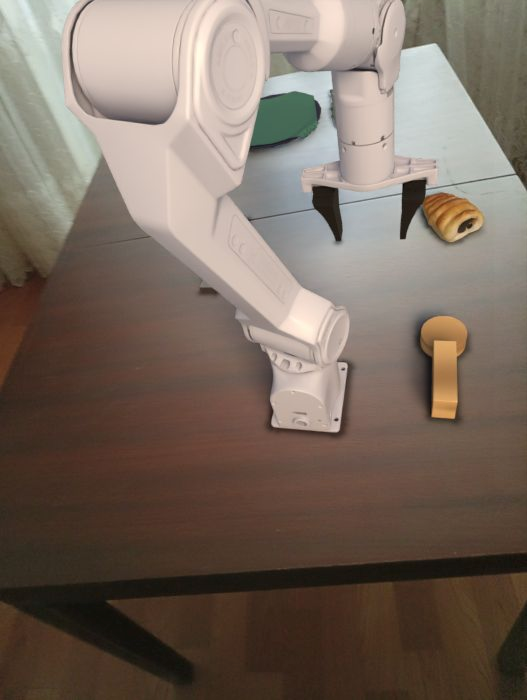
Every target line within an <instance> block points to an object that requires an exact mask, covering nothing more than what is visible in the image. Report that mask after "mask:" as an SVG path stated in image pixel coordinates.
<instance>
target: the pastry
mask: <svg viewBox="0 0 527 700" xmlns="http://www.w3.org/2000/svg"><path fill="white" fill-rule="evenodd" d="M421 208H422V210H423V214H424V217H425V218H426V220H427V224H428V226H429V227H431V229H432V230H433V231H434V233H436V234H437V236H438V237H439V238H440V239H441V240H443V241H445V242H448V243H454V242H456V241H459V240H460V239H462V238H464V237H465V236H467V235H468V234H470V233H473V232H475V231H478V230H479V229H481V227H482V226H483V225H484V221H485V216H484V215H483V212H482V211H481V210H479V207H477V206H476V205H475V204H473V203H472V202H470V201H469V199H468V198H465V197H459V196H456V195H454V194H453V193H449V192H442V191H441V192H437V193H433V194H430V195H426V196H425V199H424V202H423V204H422V205H421Z"/></svg>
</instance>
